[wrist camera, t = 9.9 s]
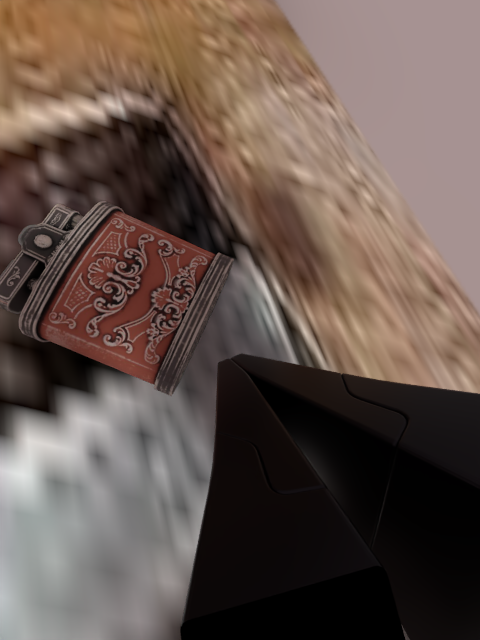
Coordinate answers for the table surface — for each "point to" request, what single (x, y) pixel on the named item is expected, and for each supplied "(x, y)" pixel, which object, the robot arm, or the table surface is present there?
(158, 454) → the table surface
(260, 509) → the robot arm
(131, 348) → the lighter
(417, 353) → the table surface
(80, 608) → the table surface
